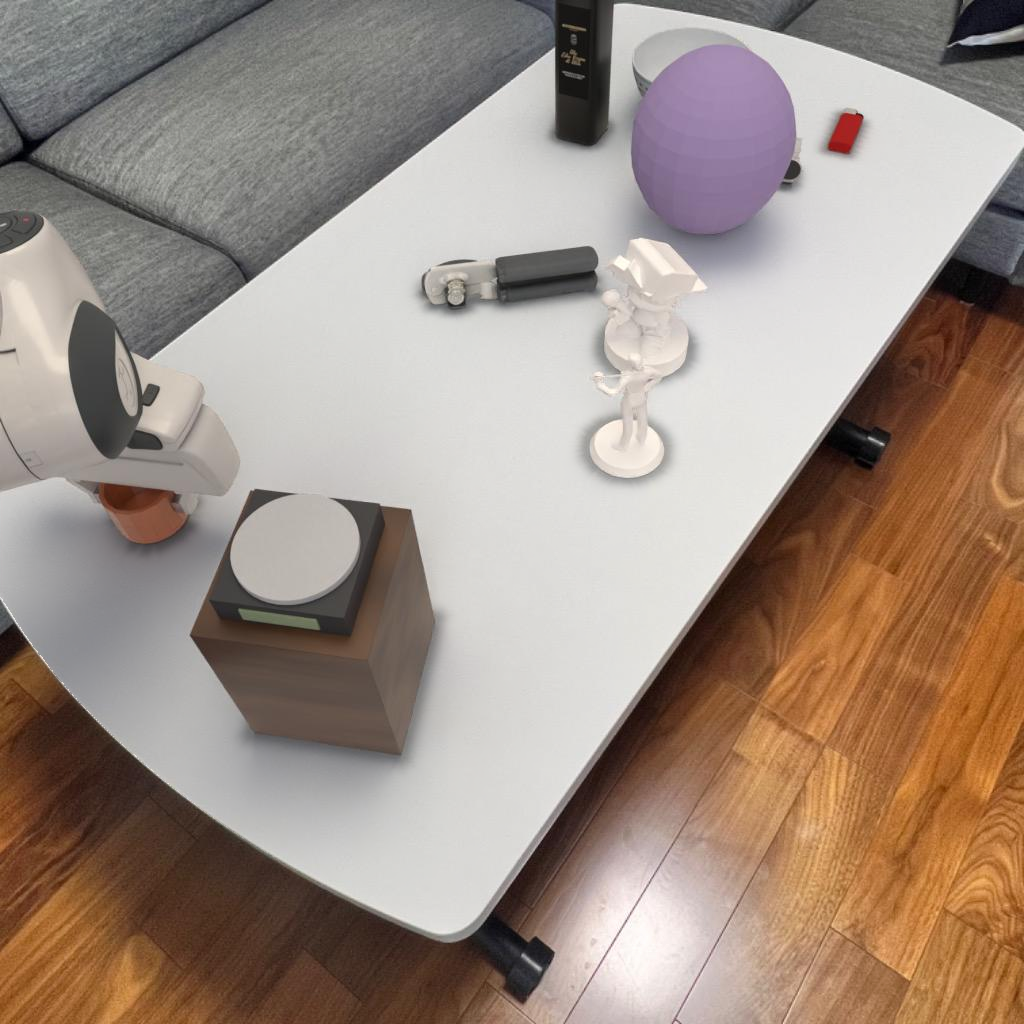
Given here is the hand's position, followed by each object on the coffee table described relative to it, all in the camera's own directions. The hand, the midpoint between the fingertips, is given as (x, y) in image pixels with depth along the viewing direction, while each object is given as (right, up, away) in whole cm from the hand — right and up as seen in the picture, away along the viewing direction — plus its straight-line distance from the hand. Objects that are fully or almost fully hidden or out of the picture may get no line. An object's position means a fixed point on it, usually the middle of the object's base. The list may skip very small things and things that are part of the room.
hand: (147, 503), depth 85 cm
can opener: (+33, +24, +19) cm, 45 cm away
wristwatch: (+66, +39, +28) cm, 82 cm away
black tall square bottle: (+42, +48, +36) cm, 73 cm away
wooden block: (+20, -14, -8) cm, 26 cm away
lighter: (+75, +47, +33) cm, 94 cm away
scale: (+19, -5, -21) cm, 29 cm away
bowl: (0, -1, +1) cm, 2 cm away
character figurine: (+47, +16, +12) cm, 52 cm away
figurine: (+44, +5, +5) cm, 44 cm away
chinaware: (+56, +51, +37) cm, 84 cm away
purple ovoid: (+55, +33, +24) cm, 68 cm away
